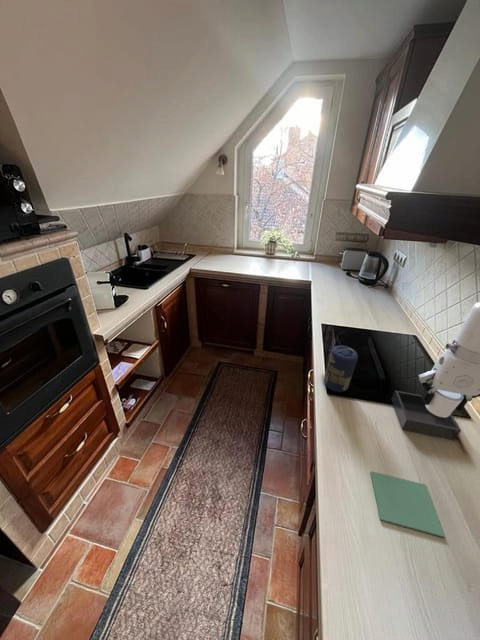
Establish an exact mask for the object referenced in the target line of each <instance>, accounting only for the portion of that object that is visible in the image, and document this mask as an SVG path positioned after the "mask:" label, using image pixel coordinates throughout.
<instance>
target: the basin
mask: <svg viewBox="0 0 480 640" xmlns="http://www.w3.org/2000/svg"><path fill="white" fill-rule="evenodd" d="M421 396H422V394H417V393H412V392H405V391H400V390H394V392H393V395H392V397H391V400H392V401H391V400H390V401H391V403H392V402H393V403H392V407H393V408H394V411H395V414H396V417H397V420H398V423H399V425H400V428H401V430H404V431H408V432H412V433H418V434H422V435H427V436H431V437H437V438H442V439H446V440H452V441H455V440H456V439H457V437H458V436H459V435H460V433H461V432H462V429H461V427H460V426H459V425H458V423H457V421H456V420H455V418H454V416H453V414H452V413H451V414H450V415H449V416H448V417H445V418H444V417H439V416H436V415H434V414H433V413H431V412H430V411H429V410H428V409H427V408H426V405H425V403H424V401H423V399H422V397H421Z"/></svg>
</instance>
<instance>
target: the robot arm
mask: <svg viewBox="0 0 480 640" xmlns="http://www.w3.org/2000/svg"><path fill="white" fill-rule="evenodd" d="M445 349H446V350H445V351H444V352H443V353H442V354H441V355H440V356H439V358H438V359H437V361H435V364H434V365H433V366H432V368H431V369H430V370H429V371H426V372H423V373H420V374H418V375H417V378H418V381H419V382H420V384H421V386H422V387H423V388H424V389H423V392H422V394H421V395H422V396H421V397H422V399H423V401H424V403H425V405H429V404H430V402H431V400H432V398H433V397H434V394H433V392H435V391H437V390H442V391H447V392H453V393H458V394H463V396H464V399H463V400H462V401H461V402H460V403H459V405H458V406H457V407H456V408H455V410H456V411H457V412H461V411H462V410H463V409H464V408H465V406H466V405H467V403H468V402H472V401H473V399H476V398H479V397H480V301H477V302H476V303H474V304H473V305H472V306H471V309H470V311H469V312H468V314H467V316H466V318H465V320H464V322H463V323H462V325H461V327H460V329H459V331H458V333H457V335H456V337H455V339H454V340H453V341H452V343H446V344H445ZM427 380H428V381H427ZM432 385H434V386H433V387H432Z"/></svg>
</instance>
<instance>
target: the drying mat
mask: <svg viewBox="0 0 480 640" xmlns="http://www.w3.org/2000/svg"><path fill="white" fill-rule="evenodd" d="M370 478H371V481H372V488H373V493H374V497H375V502H376V507H377V512H378V516H379V517H378V518H379V521H381V522H385V523H388V524H392V525H395V526H400V527H403V528H406V529H410V530H413V531H417V532H421V533H424V534H428V535H432V536H436V537H440V538H443V539H445V538H446V535H445V532H444V529H443V527H442V524H441V522H440V519H439V516H438V513H437V510H436V508H435V505H434V503H433V501H432V498H431V495H430V492H429V489H428V487H427V485H426V484H424V483H421V482H418V481H417V482H416V481H413V480H409V479H404V478H400V477H397V476H393V475H388V474H384V473H380V472H375V471H370Z"/></svg>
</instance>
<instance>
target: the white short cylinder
mask: <svg viewBox="0 0 480 640" xmlns="http://www.w3.org/2000/svg"><path fill="white" fill-rule="evenodd" d="M433 386H434V385H432V386H431V387H433ZM433 394H434V397H433V398H432V400H431V402H430V404H429V405H426V408H427V409H428V410H429V411H430V412H431V413H433V414H434V415H436V416H439V417H444V418H445V417H448V416H449V415H450V414H452V413H453V412H454V411H455V410H456V407H457V406H458V405H459V403H460V402H461V401H462V400H463V399H464V396H463V394H458V393H453V392H447V391H442V390H437V391H435V392H433Z"/></svg>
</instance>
